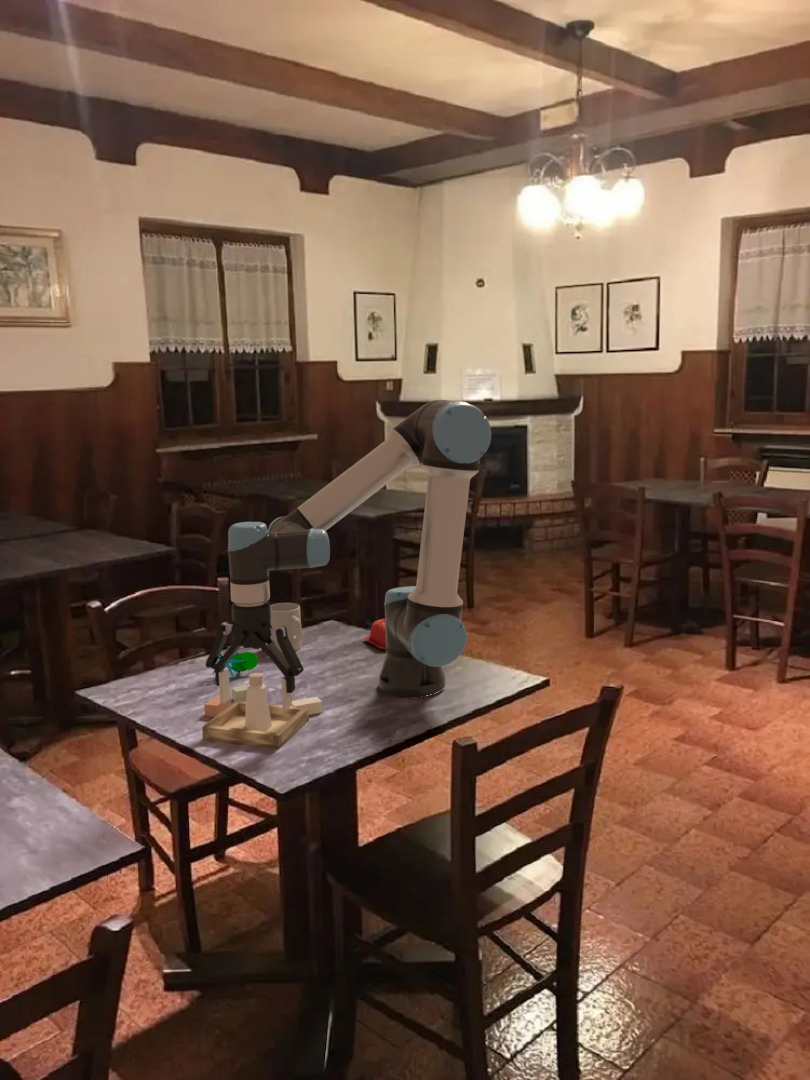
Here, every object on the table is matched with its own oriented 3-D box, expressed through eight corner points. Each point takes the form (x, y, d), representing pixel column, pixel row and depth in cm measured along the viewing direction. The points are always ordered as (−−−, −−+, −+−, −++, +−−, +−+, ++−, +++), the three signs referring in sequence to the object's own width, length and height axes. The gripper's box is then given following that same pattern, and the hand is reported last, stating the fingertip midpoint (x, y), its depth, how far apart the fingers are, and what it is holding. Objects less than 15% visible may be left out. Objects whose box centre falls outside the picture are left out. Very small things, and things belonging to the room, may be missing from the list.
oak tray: (309, 721, 186) (308, 708, 186) (279, 750, 173) (278, 735, 172) (237, 713, 191) (236, 700, 190) (203, 741, 177) (202, 726, 177)
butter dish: (400, 635, 244) (399, 605, 243) (420, 646, 234) (420, 615, 233) (361, 642, 239) (360, 611, 237) (381, 654, 229) (380, 621, 227)
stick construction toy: (211, 678, 208) (207, 646, 211) (205, 687, 213) (201, 656, 216) (262, 674, 213) (257, 643, 216) (254, 683, 219) (249, 652, 222)
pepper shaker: (246, 721, 184) (244, 670, 182) (273, 721, 184) (271, 669, 182) (242, 732, 179) (239, 679, 177) (270, 731, 179) (267, 678, 177)
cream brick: (317, 709, 193) (316, 696, 192) (322, 714, 190) (321, 701, 190) (290, 715, 190) (290, 701, 190) (295, 720, 188) (294, 706, 187)
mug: (262, 647, 235) (260, 606, 233) (290, 640, 240) (289, 600, 238) (286, 658, 226) (284, 616, 224) (315, 651, 231) (313, 610, 229)
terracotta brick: (219, 707, 195) (218, 694, 195) (231, 708, 194) (231, 695, 194) (205, 717, 190) (204, 704, 189) (217, 719, 189) (217, 705, 188)
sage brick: (258, 695, 202) (257, 682, 201) (262, 699, 199) (262, 686, 199) (232, 700, 199) (231, 687, 199) (236, 704, 197) (235, 691, 196)
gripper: (317, 600, 176) (321, 703, 181) (203, 592, 184) (209, 691, 188) (302, 610, 169) (306, 717, 174) (184, 602, 177) (190, 705, 181)
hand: (255, 704), depth 181 cm, fingers open, 13 cm apart
